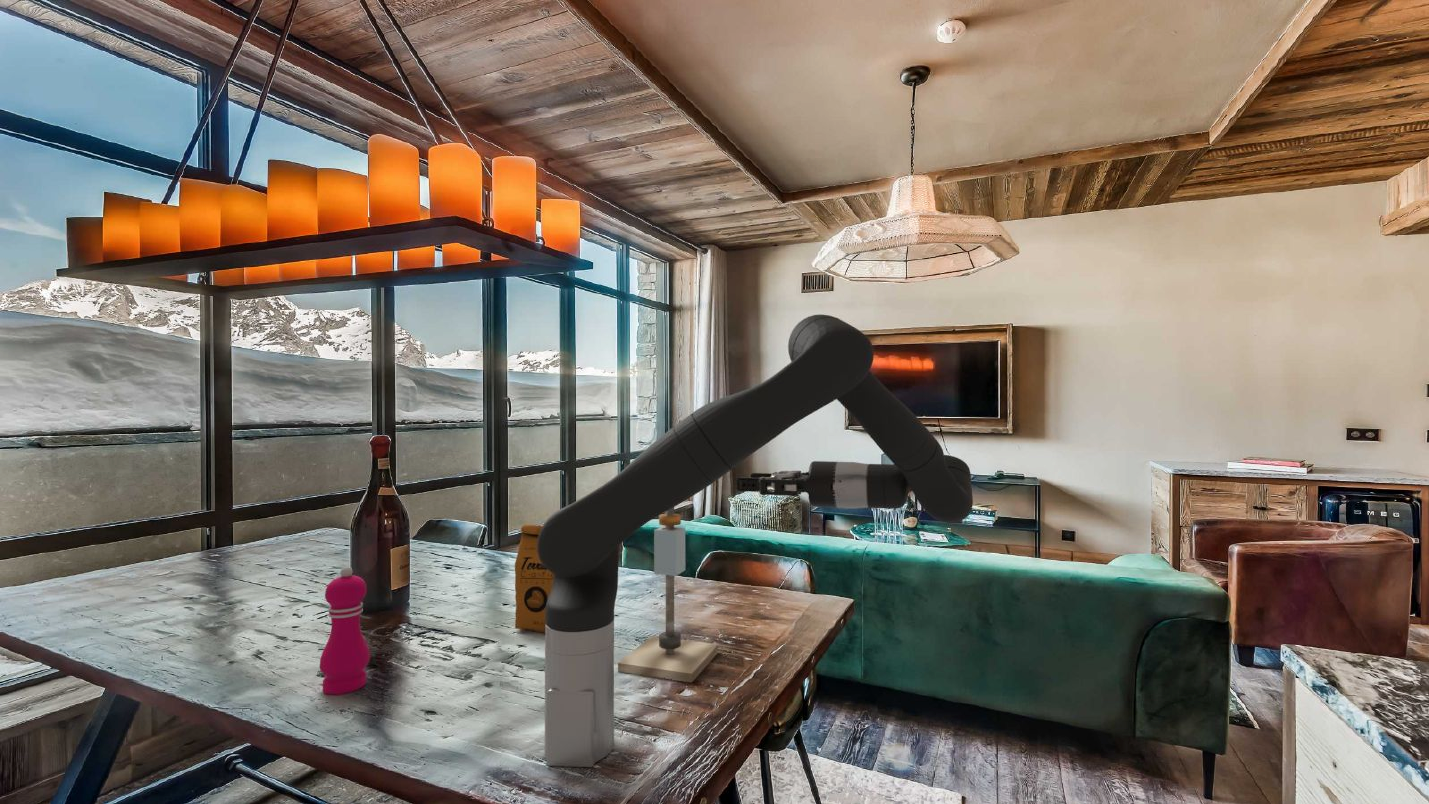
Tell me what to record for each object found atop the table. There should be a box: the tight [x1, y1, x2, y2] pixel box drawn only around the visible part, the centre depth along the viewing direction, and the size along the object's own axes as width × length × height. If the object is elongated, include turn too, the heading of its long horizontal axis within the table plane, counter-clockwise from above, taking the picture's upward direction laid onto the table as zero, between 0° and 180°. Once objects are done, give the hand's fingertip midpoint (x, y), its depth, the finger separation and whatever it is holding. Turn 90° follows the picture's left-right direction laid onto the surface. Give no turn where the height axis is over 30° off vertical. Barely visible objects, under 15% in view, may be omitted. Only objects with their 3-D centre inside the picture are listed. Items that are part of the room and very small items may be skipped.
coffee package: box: [514, 524, 554, 634], centre depth 130 cm, size 10×12×22 cm
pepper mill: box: [319, 566, 371, 695], centre depth 102 cm, size 7×7×20 cm
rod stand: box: [617, 507, 719, 683], centre depth 112 cm, size 14×14×35 cm
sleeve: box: [653, 525, 686, 577], centre depth 112 cm, size 4×4×8 cm
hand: (744, 481), depth 104 cm, fingers open, 8 cm apart
